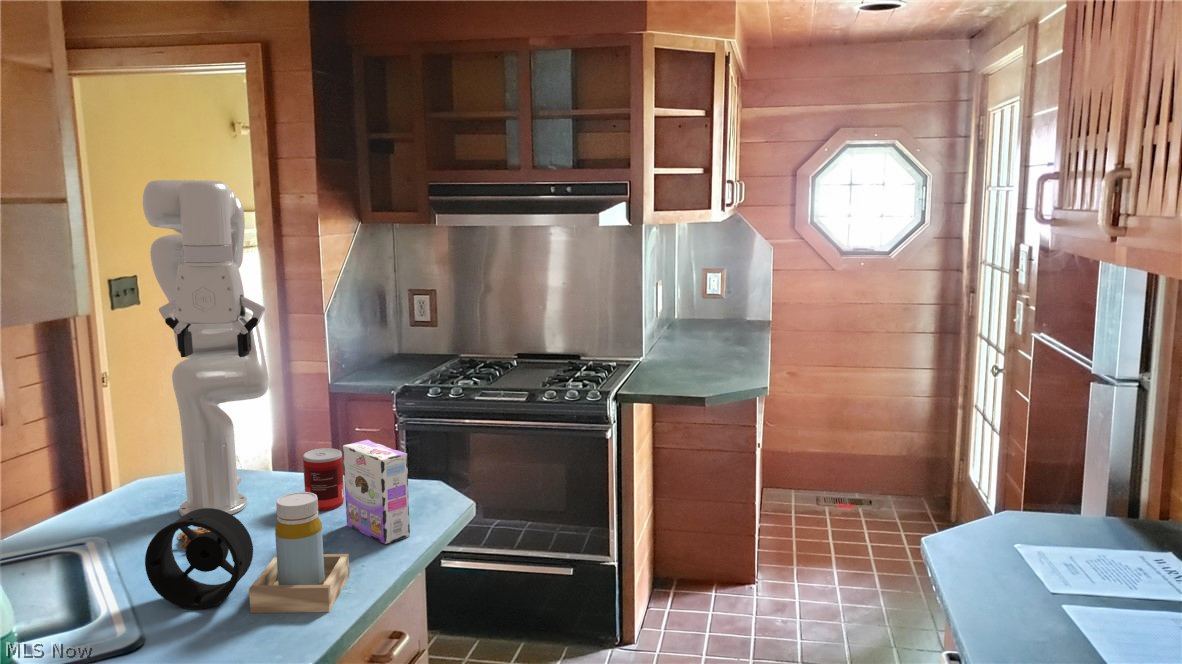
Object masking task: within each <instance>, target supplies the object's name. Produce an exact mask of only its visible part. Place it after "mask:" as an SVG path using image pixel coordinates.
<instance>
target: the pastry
mask: <svg viewBox="0 0 1182 664" xmlns="http://www.w3.org/2000/svg"><path fill="white" fill-rule="evenodd" d="M190 529H191V530H192V531H194V532H195V533H196V534H197V535H199V534H201V533H204V532H211V531H209V530H206V529H204V528H200V527H197V528H195V529H192V528H190ZM176 539H177V540H178V541H179V540H181V541H182V544H181V545H180V547H179V548H183V549H184V550H186V548H187V545H188V544H189V542H190V541H191V540H190V539H189V538H188V537H187V536H186V535H185V534H184V533H183V532H182V531H181V532H180V533H178V535H177V537H176Z"/></svg>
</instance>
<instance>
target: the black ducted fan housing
mask: <svg viewBox="0 0 1182 664" xmlns="http://www.w3.org/2000/svg"><path fill="white" fill-rule="evenodd" d="M191 526H192V527H195V528H196V527H197V528H198V527H199V528H203V529H206V530H209V531H211V532H204V533H201V534H199V535H197V534H196V533H195V532H194V531H192V530H191V529H192V528H191ZM179 530H180V531H181V532H183V533H184V534H185V535H186V536H187V537H188V538H189V539H190V540H191V541H190V542H189V544H188V545H187V548H186V549H185V558H186V560H187V562H188V564H189V566H188V567H187V568H186V570H185V571H183V570H182V569H181V567H180V566H179V565H178V562H177V561H176V559H175V556H174V553H173V551H174V550H173V540H174V537H175V534H176V532H177V531H179ZM229 553H230V555H231V559H232V562H233V565H232V564H231V563H230V562H229V561H228V560H226V559H227V558H228V554H229ZM253 557H254V545H253V541H252V537H251V535H250V532H249V531H248V529H247V528H246V527H245V525H244V524H243V522H241V521H240V520H239V518H237V517H235V515H234V514H229V513H227V512H225V511H222V510H219V509H213V508H203V509H197V510H194V511H191V512H189V513H187V514H185V515H184V516H181V517H180V518H178V519H177V520H175V521H174V522H172V523H169V524H167V525H166V526H164V527H163V528H161V529H160V530H159V531H157V533H156V534H155V535H154V536H153V537H152V539H151V540H150V542H149V544H148V546H147V548H146V552H145V557H144V567H145V572H146V576H147V578H148V581H149V582H150V585H151V586H152V588H153V589H154V590H155V591H156V593H157V594H158V595H160V597H162V598H163V600H166V601H167V602H169V603H170V604H172V605H174V606H177V607H179V608H183V609H187V610H204V609H208V608H211V607H214V606H217V605H218V604H220V603H222V602H223V601H224V600H225V599H226V598H228V596H230V594H231V593H232V591H233V590H234V589H235V588H236V586H237V584H238V582H240V580H241V579H242V578H243V577H244V576H245V575H246V574H247V572H248V570H249V568H250V567H251V564H252V562H253ZM219 567H220V568H222V569H223V570H224V571H226V572H227V573H228V574H230V575H231V577H230V579H229V580H228V581H225V582H222V583H219V584H208V583H202V582H200V581H199V580H198V581H197V580H195V579H193V578H192V577H190V576H189V574H190V573H191V572H192V571H194V569H195V570H197V571H199V572H204V573H207V572H213V571H215V570H217V569H218V568H219Z"/></svg>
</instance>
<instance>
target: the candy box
mask: <svg viewBox="0 0 1182 664" xmlns="http://www.w3.org/2000/svg"><path fill="white" fill-rule="evenodd" d="M342 460H343V481H344V498H345V510H346V512H345V513H346V525H347V526H348V527H349V528H351V529H354V530H355V531H357V532H360V533H362V534H363V535H365V536H367V537H370V538H371V539H373V540H376V541H378V542H380V543H382V544H384V545H387V544H391V543H393V542H396V541H400V540H402V539H406V538H408V537H410V536H411V529H410V507H409V505H410V504H409V503H410V502H409V501H410V500H409V473H408V472H409V471H408V467H409V465H408V453H406V452H403V451H400V450H397V449H394V448H392V447H388V446H386V445H383V444H380V443H377V442H375V441H372V440H369V439H365V440H360V441H357V442H352V443H349V444H348V443H347V444H344V445H342Z"/></svg>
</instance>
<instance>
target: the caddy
mask: <svg viewBox="0 0 1182 664" xmlns="http://www.w3.org/2000/svg"><path fill="white" fill-rule="evenodd" d="M349 556H350V555H349V553H328V554H327V553H323V557H324V576H325V577H324V580H325V581H324V584H323V585H279V584H278V569H277V554H275V555H274V557H273V558H272V559H271V561H270V562H269V563H268V564H267V566H266V567H265V568H264V570H262V572H261V573H260V575H259V576H258V577H257V578H256V579H255V580H254V582H253V583H252V584H251V586H250V587H249V588H248V594H249V609H250V614H270V613H271V614H273V613H274V614H277V613H283V614H284V613H288V614H291V613H330V612H331V610H332V609H333V607H334V605H335V603H336V601H337V600H338V597H339V595H340V594H341V592H342V591H343V589H344V587H345V585H346V584H347V581H348V580H349V578H350V560H349V559H350V558H349Z"/></svg>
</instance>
